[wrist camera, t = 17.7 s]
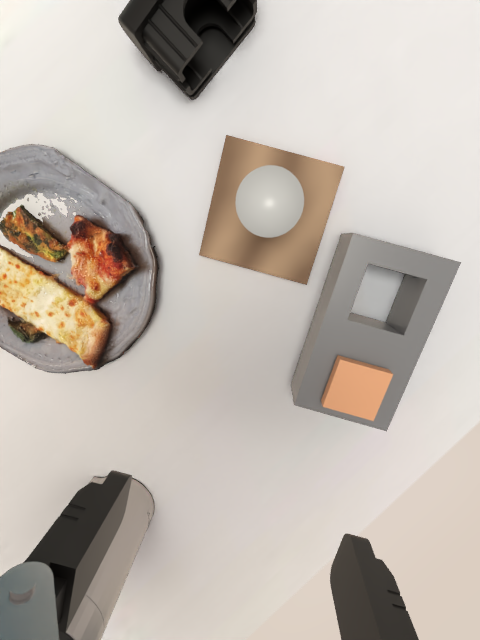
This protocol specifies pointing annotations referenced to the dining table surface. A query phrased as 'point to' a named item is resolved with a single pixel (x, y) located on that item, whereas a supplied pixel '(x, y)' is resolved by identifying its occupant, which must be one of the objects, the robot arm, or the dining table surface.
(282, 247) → the walnut board
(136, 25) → the end cap
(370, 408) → the orange cube
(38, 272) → the food plate
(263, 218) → the cylinder
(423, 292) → the grey hollow block
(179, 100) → the dining table surface
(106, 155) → the dining table surface
